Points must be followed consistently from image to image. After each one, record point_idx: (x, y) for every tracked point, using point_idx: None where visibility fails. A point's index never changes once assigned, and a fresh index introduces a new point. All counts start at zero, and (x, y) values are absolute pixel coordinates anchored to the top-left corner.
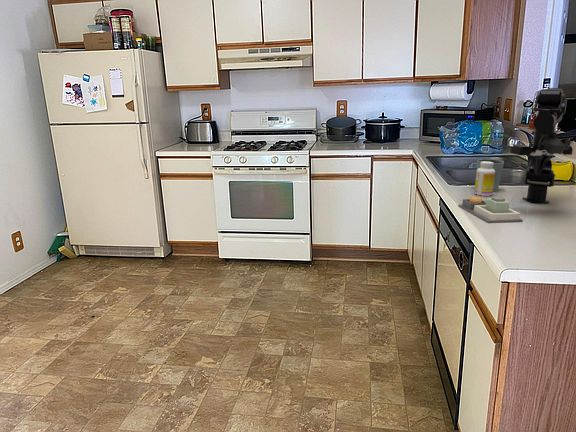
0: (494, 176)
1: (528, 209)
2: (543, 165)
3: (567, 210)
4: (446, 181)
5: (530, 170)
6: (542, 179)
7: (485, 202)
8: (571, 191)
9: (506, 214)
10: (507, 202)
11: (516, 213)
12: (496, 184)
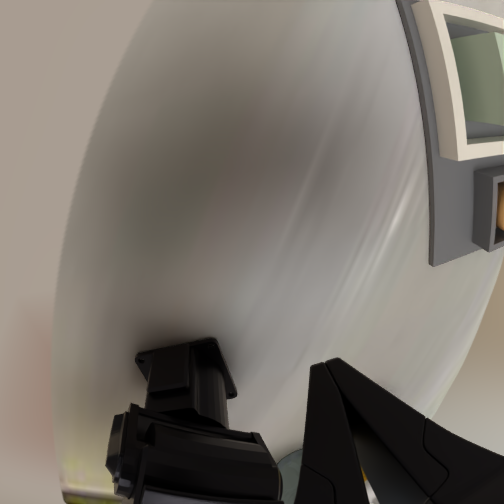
0: (361, 469)
1: (285, 216)
2: (333, 464)
3: (81, 231)
4: None
5: (272, 492)
6: (187, 435)
7: (497, 188)
8: (56, 459)
9: (471, 9)
10: (500, 36)
11: (441, 2)
12: (299, 471)
